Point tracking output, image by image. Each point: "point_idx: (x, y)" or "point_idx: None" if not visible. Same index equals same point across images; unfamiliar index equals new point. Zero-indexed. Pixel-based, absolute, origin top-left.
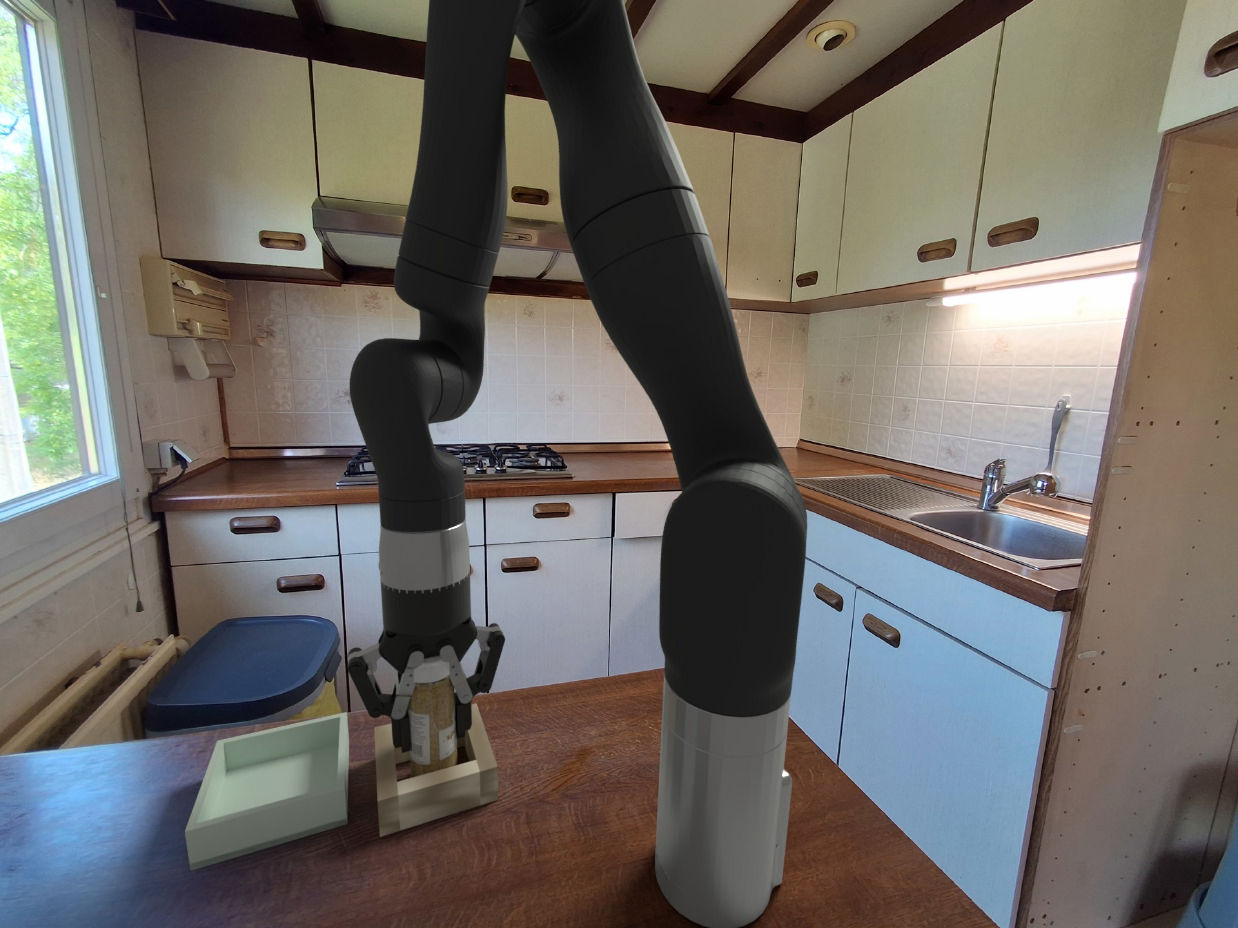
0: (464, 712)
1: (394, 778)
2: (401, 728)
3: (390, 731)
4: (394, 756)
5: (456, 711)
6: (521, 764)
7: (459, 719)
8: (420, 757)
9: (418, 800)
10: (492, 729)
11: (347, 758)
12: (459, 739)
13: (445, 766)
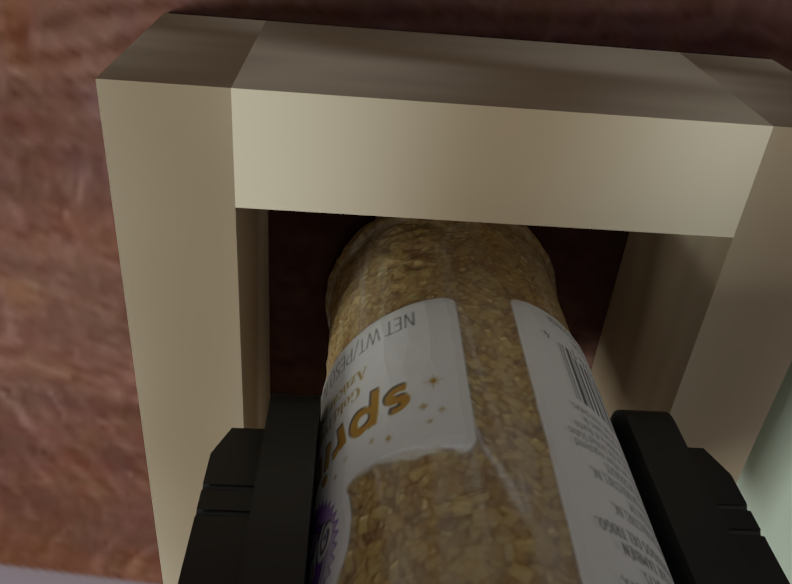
0: (247, 541)
1: (734, 268)
2: (734, 552)
3: None
4: None
5: (306, 570)
6: (5, 200)
7: (295, 500)
8: (567, 347)
9: (627, 90)
10: (128, 456)
11: (770, 506)
12: None
13: (415, 272)
